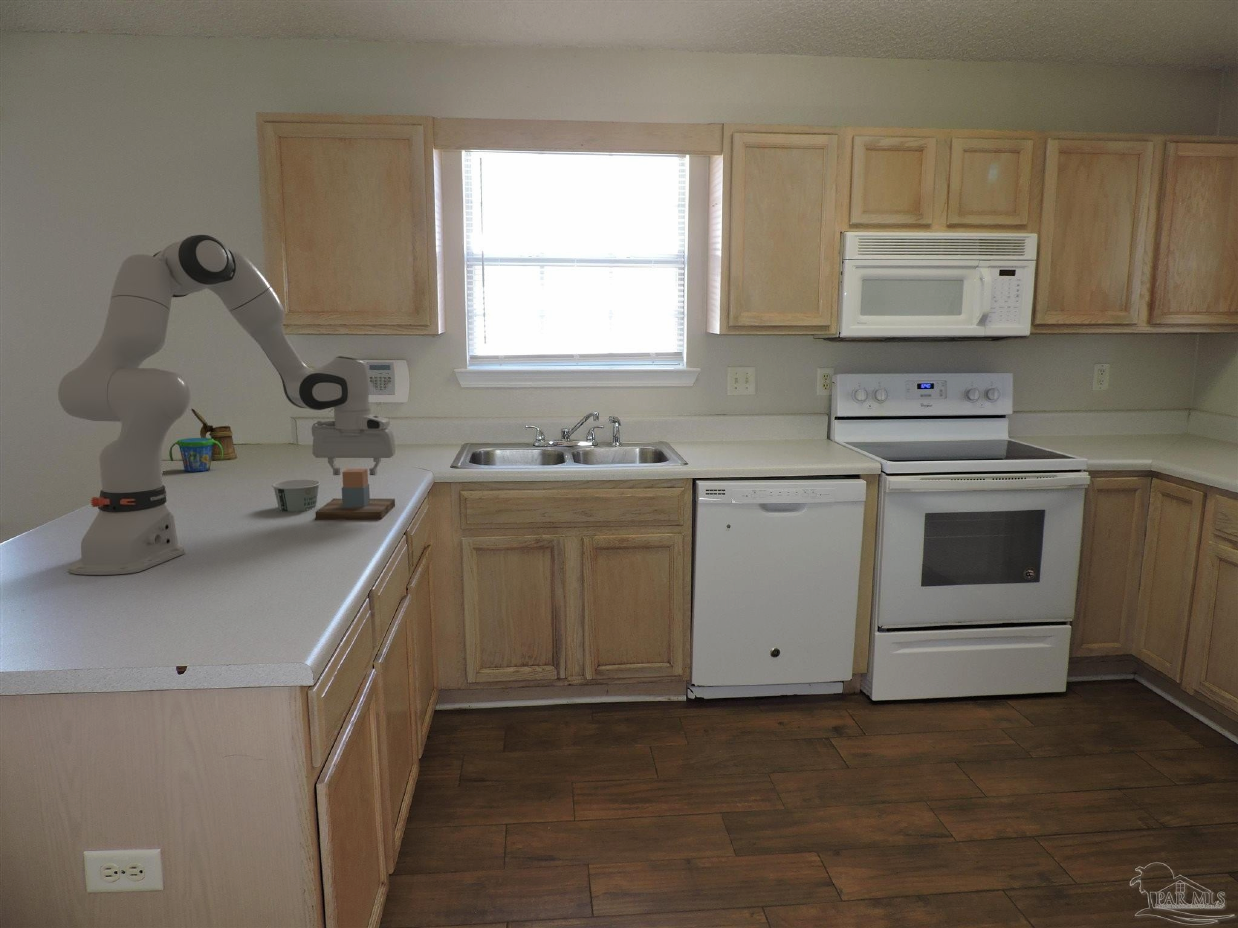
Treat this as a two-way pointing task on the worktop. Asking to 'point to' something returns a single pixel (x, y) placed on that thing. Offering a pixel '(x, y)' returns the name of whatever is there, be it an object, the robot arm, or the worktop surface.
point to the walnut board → (355, 510)
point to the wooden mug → (218, 439)
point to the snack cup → (196, 453)
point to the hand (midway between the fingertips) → (355, 475)
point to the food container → (296, 494)
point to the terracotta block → (355, 478)
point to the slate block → (355, 497)
